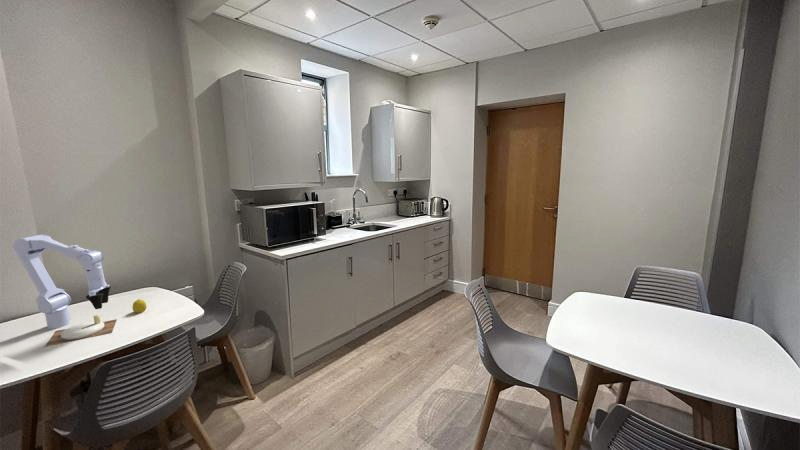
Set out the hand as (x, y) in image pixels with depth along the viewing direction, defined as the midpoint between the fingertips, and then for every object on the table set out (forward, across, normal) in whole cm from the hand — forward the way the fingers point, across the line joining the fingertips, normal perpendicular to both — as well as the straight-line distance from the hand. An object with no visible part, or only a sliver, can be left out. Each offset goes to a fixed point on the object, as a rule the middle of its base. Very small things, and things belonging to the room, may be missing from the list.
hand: (101, 305), depth 151 cm
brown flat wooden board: (+11, -4, +7) cm, 13 cm away
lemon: (+12, +11, -10) cm, 19 cm away
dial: (+9, -5, +6) cm, 12 cm away
